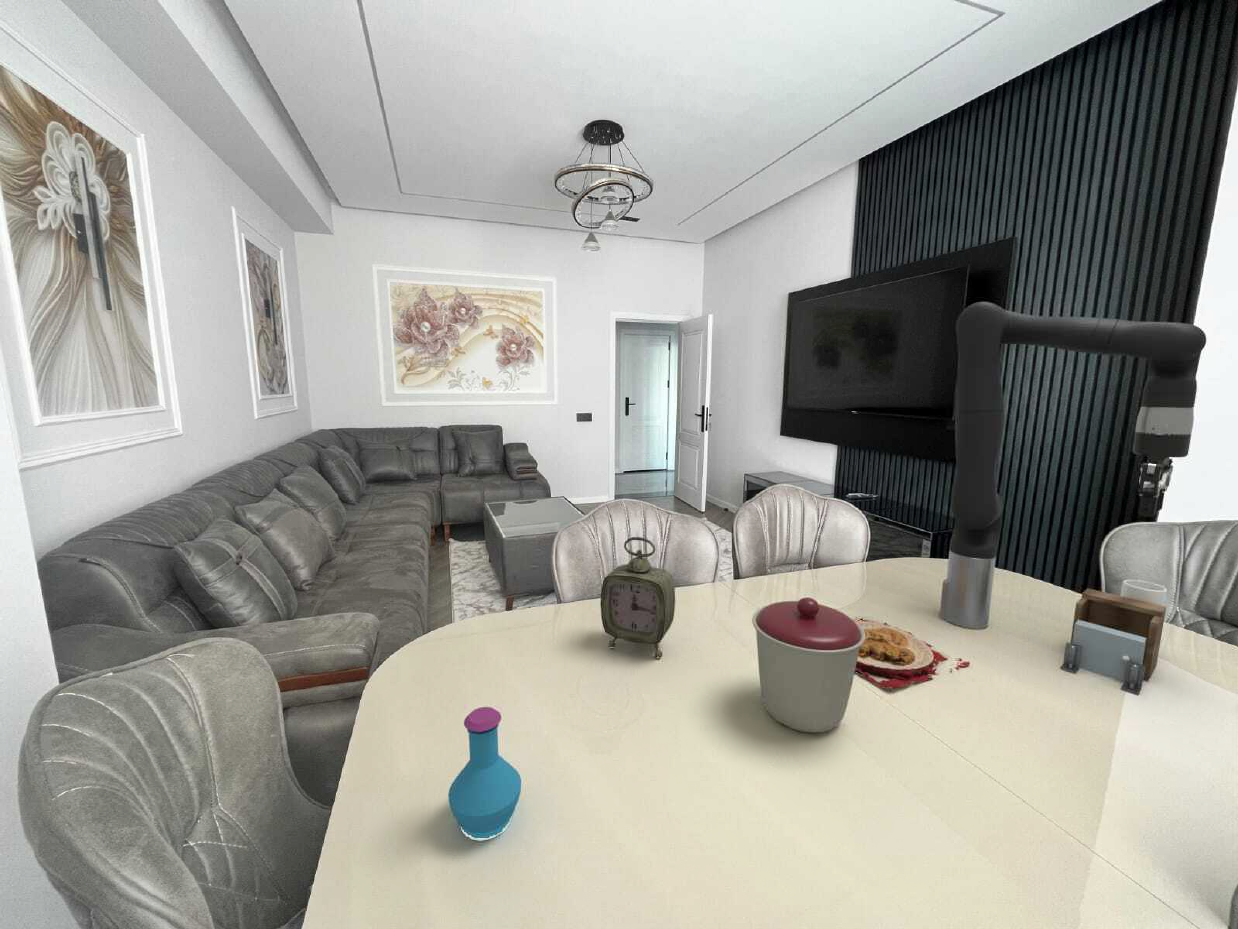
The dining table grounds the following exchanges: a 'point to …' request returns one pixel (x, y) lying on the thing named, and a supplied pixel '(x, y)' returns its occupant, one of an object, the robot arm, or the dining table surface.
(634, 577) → the tabletop clock
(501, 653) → the dining table surface
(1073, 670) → the hinge clips
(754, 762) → the dining table surface
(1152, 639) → the cabinet
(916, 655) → the plate with food
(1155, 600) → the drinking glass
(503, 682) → the dining table surface
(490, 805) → the perfume bottle
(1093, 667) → the door
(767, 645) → the canister
